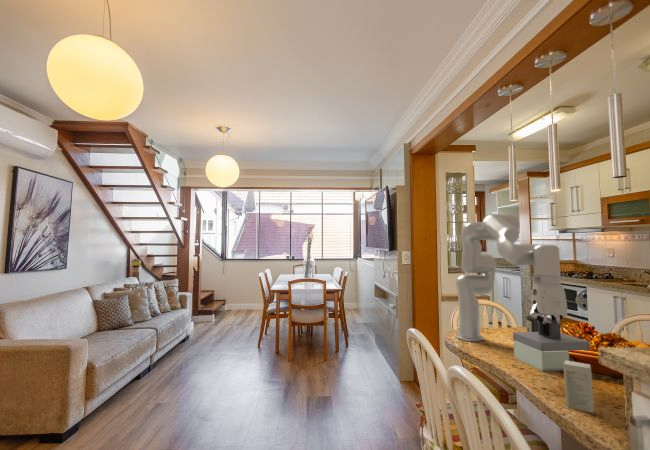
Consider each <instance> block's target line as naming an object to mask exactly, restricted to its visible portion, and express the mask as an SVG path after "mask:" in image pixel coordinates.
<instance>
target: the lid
mask: <svg viewBox="0 0 650 450" xmlns="http://www.w3.org/2000/svg"><path fill="white" fill-rule="evenodd" d="M546 324H548V329H549V336H544V335H541V334H540V324H539V322H538V332H527V331H523V332H522V331H520V332H519V331H516V332H512V335H513V336H512V339H513V341H514V340H515V341H517V342H520V343H522V344H525V345H527V346H530V347H532V348H534V349H537V350H539V351H569V352H570V351H590V341H588V340H585V339H582V338H579V337H576V336H572V335H569V334H566V333H563V332H561V323H560V324H559V323H555V322H552V321H548V320H547V323H546Z"/></svg>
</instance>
